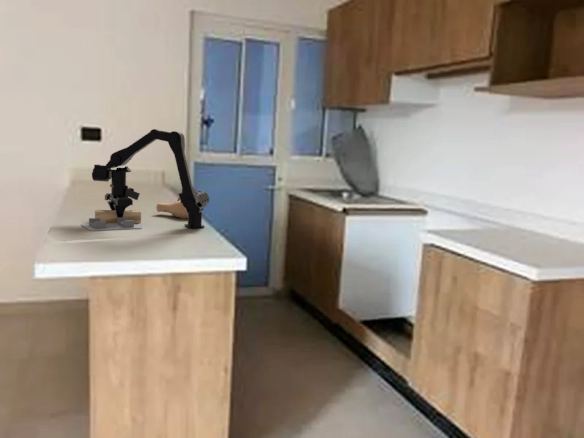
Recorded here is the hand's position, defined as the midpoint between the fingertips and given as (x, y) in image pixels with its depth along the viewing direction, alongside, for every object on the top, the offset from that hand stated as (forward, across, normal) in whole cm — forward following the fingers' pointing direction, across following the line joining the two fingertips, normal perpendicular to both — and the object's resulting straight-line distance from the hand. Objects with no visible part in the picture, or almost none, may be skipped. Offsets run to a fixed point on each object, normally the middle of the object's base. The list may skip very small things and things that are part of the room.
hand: (118, 219), depth 229 cm
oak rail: (+1, 0, 0) cm, 1 cm away
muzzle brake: (+1, +20, -43) cm, 47 cm away
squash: (+1, +6, -29) cm, 30 cm away
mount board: (+1, -11, +6) cm, 13 cm away
